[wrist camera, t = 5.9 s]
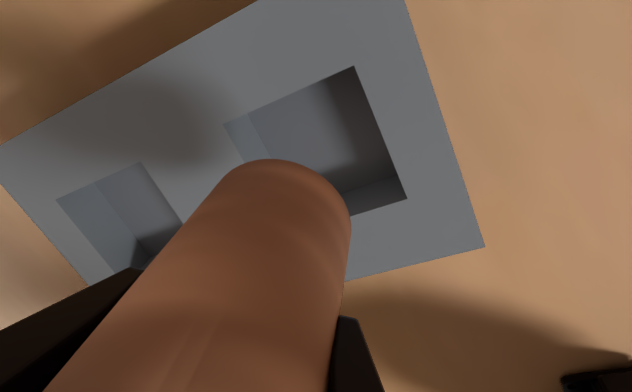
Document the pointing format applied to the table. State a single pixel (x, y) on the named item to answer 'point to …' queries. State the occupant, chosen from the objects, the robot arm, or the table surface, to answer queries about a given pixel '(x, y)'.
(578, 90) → the table surface
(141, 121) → the hole board
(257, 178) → the pin
